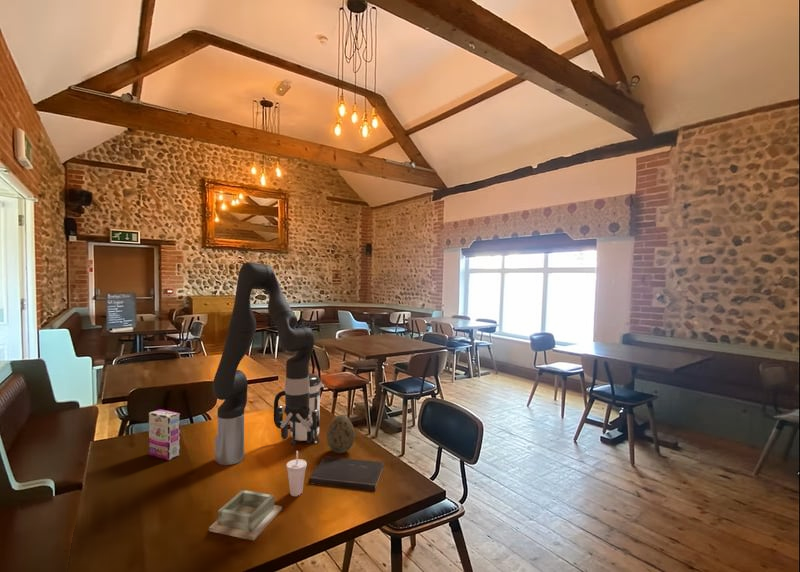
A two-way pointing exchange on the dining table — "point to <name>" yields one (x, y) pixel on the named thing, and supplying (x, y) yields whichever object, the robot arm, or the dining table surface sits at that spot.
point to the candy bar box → (164, 434)
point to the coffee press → (314, 403)
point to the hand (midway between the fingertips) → (297, 440)
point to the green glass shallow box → (246, 515)
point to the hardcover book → (347, 473)
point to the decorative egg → (340, 434)
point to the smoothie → (296, 475)
